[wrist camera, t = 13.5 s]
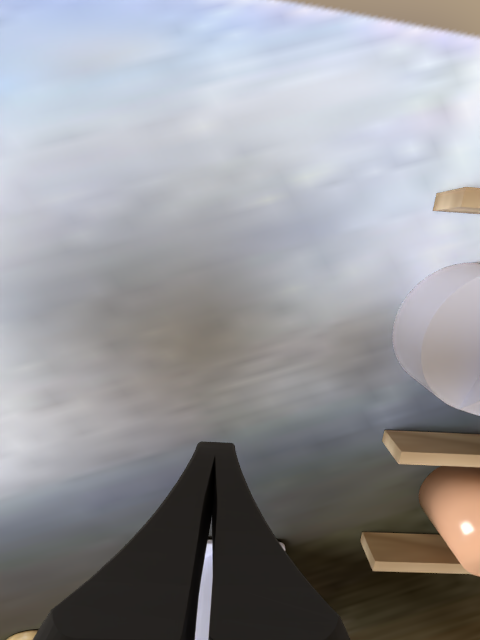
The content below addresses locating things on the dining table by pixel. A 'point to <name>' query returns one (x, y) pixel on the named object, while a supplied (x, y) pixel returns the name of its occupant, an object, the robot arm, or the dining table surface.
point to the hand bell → (23, 635)
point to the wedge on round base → (443, 335)
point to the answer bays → (426, 462)
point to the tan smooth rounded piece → (455, 511)
